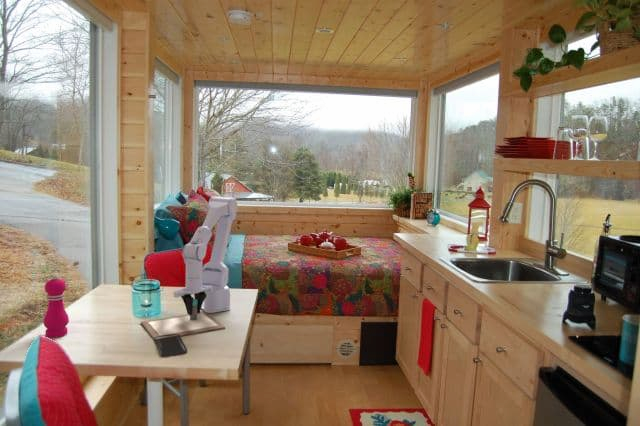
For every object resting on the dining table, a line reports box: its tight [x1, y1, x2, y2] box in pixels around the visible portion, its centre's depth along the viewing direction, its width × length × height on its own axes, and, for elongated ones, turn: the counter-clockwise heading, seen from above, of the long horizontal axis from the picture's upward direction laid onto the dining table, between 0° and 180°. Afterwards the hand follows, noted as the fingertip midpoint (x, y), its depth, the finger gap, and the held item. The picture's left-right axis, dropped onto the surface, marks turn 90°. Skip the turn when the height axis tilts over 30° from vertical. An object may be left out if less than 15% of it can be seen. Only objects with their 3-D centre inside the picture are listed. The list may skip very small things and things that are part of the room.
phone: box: [154, 334, 188, 358], centre depth 153 cm, size 8×1×15 cm
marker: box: [190, 298, 198, 320], centre depth 175 cm, size 3×3×7 cm
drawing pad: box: [140, 311, 226, 341], centre depth 171 cm, size 24×18×1 cm
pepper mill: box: [43, 274, 70, 339], centre depth 157 cm, size 7×7×20 cm
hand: (193, 313), depth 175 cm, fingers closed on marker, 3 cm apart
